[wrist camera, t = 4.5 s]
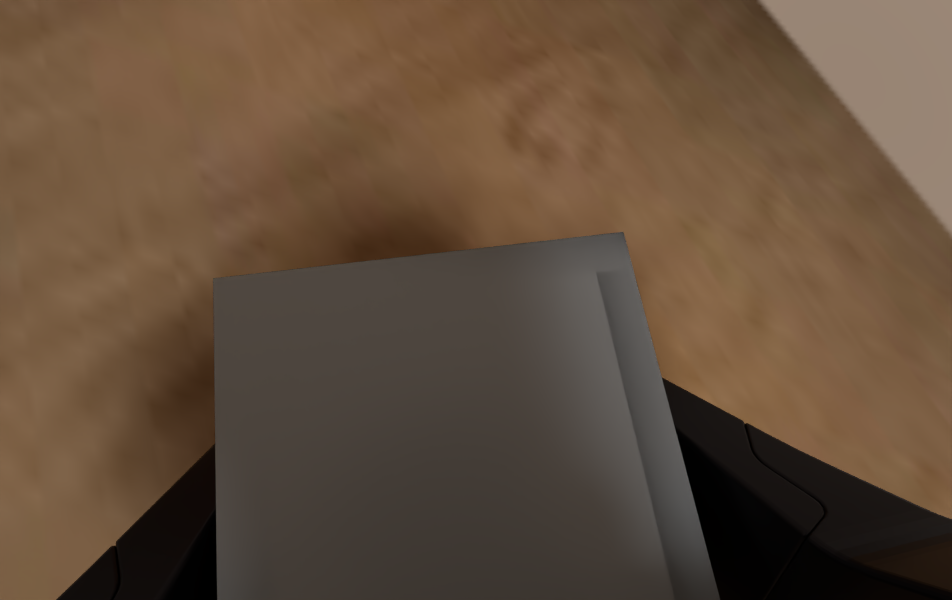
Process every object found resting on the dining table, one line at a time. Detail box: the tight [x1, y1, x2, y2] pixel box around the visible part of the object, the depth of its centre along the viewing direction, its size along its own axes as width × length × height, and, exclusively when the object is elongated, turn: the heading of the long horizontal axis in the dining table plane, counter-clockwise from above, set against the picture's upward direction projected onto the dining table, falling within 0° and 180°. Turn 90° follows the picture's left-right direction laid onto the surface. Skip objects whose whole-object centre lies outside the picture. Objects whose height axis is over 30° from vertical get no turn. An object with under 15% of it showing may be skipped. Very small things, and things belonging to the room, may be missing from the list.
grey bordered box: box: [213, 232, 720, 600], centre depth 10 cm, size 6×6×10 cm
